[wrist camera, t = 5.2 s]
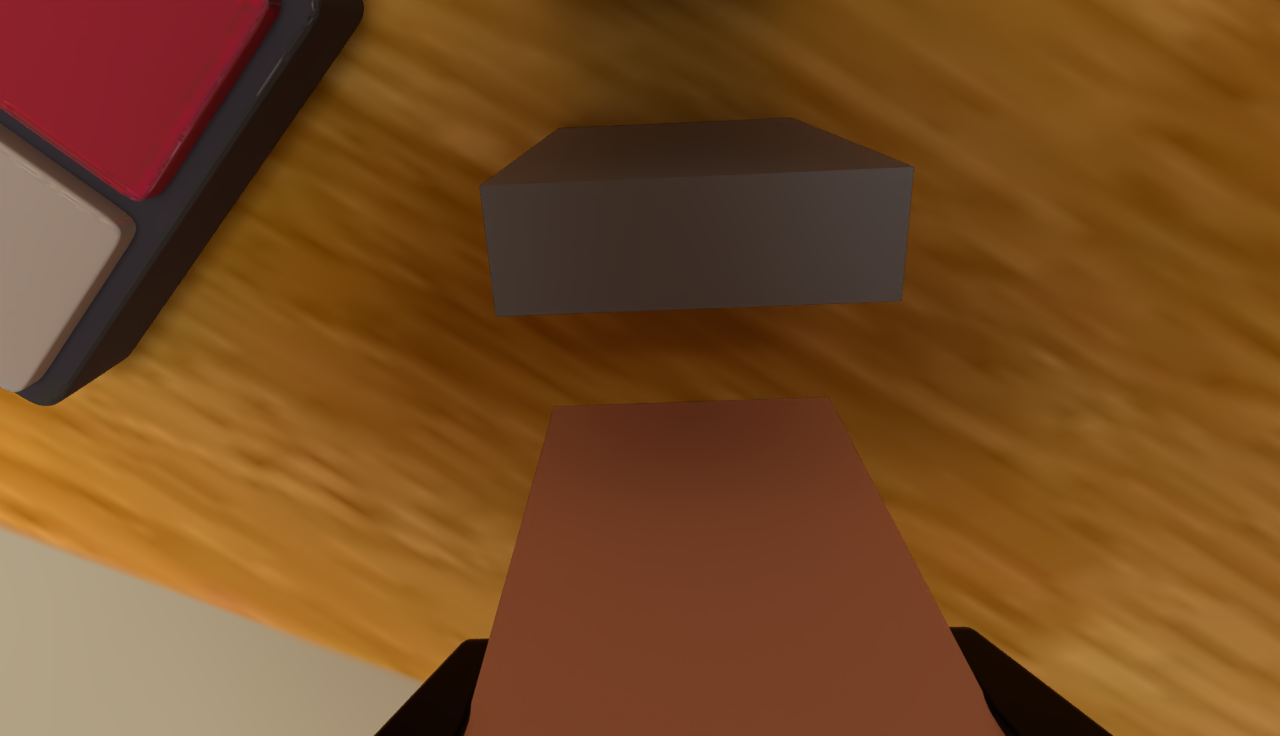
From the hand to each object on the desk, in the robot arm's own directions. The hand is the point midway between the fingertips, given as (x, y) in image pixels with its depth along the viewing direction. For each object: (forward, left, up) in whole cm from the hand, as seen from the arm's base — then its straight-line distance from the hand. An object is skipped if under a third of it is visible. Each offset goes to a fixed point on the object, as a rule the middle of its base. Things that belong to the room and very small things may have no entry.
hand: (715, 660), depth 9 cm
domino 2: (0, 0, -6) cm, 6 cm away
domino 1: (0, -4, -10) cm, 11 cm away
